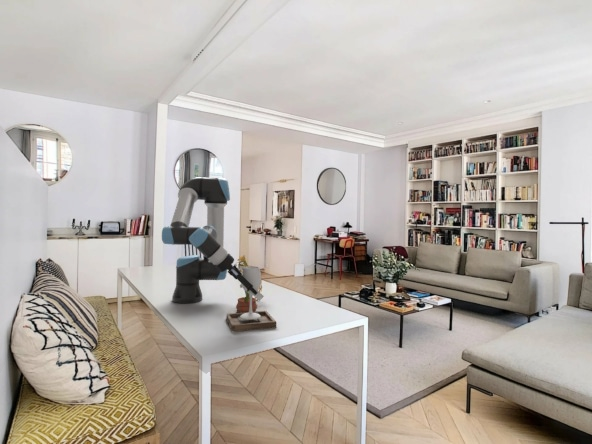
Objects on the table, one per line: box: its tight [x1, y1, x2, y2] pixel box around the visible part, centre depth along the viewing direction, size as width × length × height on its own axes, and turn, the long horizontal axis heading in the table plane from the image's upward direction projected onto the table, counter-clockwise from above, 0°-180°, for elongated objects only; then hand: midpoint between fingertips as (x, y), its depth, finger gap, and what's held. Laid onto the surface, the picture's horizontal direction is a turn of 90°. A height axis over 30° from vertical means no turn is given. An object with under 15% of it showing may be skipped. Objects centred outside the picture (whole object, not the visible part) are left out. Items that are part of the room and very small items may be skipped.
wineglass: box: [240, 265, 262, 320], centre depth 143 cm, size 9×9×21 cm
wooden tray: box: [225, 310, 277, 333], centre depth 143 cm, size 16×18×2 cm
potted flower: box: [233, 259, 258, 313], centre depth 160 cm, size 12×10×25 cm
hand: (258, 296), depth 144 cm, fingers closed on wineglass, 8 cm apart
